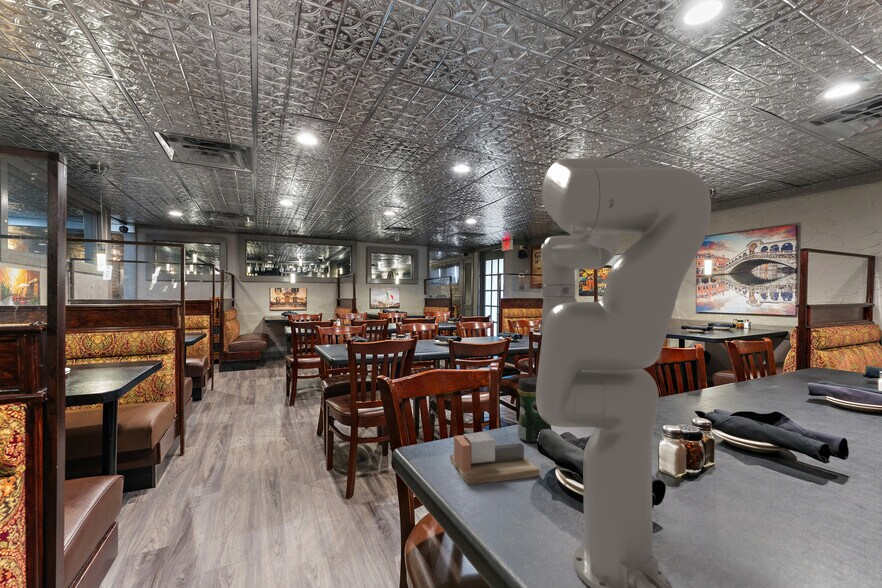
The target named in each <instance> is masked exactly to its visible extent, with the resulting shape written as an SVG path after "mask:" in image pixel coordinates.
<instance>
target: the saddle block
mask: <svg viewBox="0 0 882 588" xmlns="http://www.w3.org/2000/svg"><path fill="white" fill-rule="evenodd" d="M463 437H464V438H465V440H466V441H467V442H468V443H469V444H470V445H471V464H472V463H481V462H490V461H495V446H496V441H495V439H494V438H493V437H492V436H491V435H490V434H489V433H488V432H486V431H484V432H483V431H482V432H481V431H480V432H472V433H463Z"/></svg>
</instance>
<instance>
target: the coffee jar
mask: <svg viewBox="0 0 882 588" xmlns="http://www.w3.org/2000/svg"><path fill="white" fill-rule="evenodd" d="M517 384H518V385H517V393H518V395H519V404H520V405H519V418H518V431H517V435H518V438H519V439H520V438H521V439H522V441H523V440H524V441H523V442H526V441H527V442H526V443H529V442H536V443H538V442H537V439H538V435H539V432H540V430H542V429H550V430H551V431H552V425H550V424H548V423H546V422H545V421H544V420H543V419H542V418H541V416H540V414H539V412H538V409H537V404H536V385H537V376H533V377H532V376H530V377H520V378H519V379H518V382H517ZM521 439H520V440H521Z"/></svg>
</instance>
